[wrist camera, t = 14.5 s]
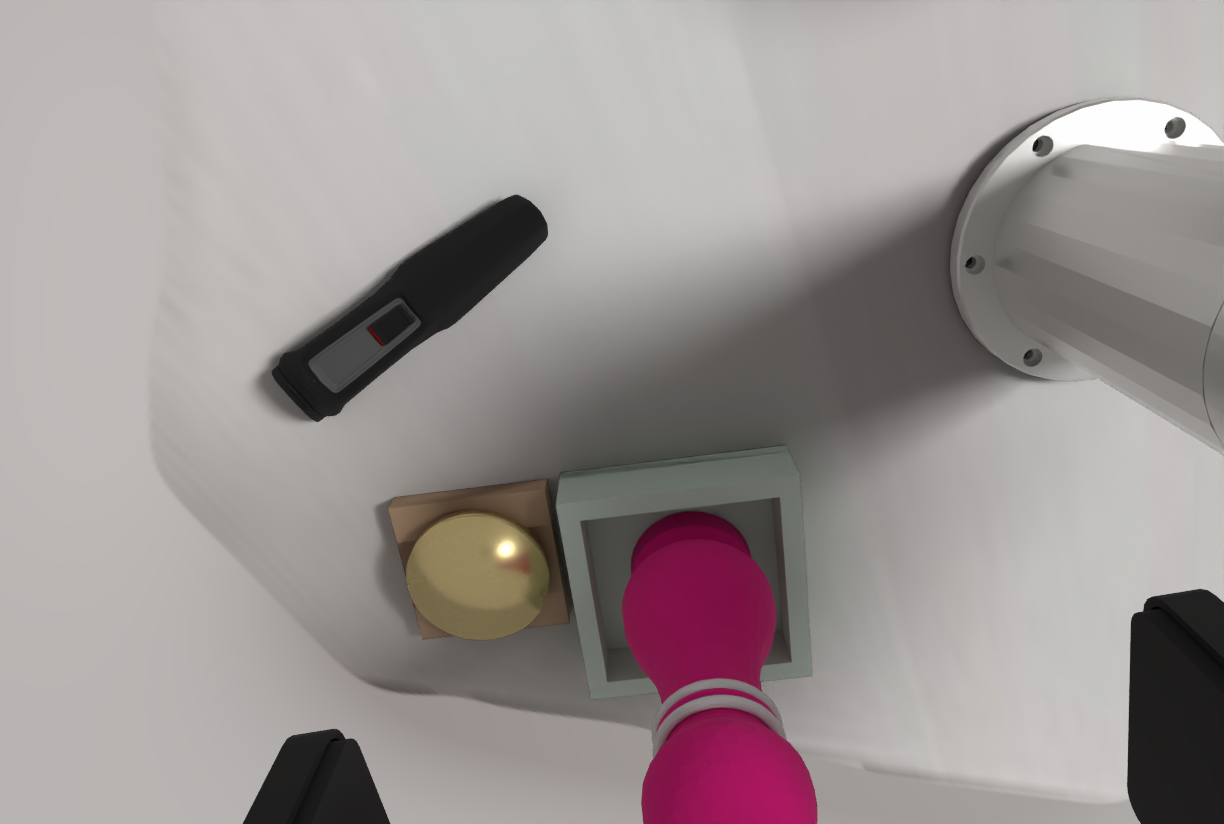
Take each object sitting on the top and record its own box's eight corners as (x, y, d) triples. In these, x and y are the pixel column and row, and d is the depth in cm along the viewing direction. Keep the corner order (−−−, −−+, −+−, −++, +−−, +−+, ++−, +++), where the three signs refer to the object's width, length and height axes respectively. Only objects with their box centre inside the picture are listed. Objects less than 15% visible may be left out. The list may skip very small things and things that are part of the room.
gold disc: (539, 492, 42) (535, 509, 41) (561, 611, 45) (559, 632, 43) (400, 509, 43) (391, 526, 41) (430, 626, 45) (423, 647, 44)
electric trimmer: (571, 238, 39) (568, 250, 36) (324, 421, 42) (302, 445, 39) (521, 170, 38) (513, 176, 35) (271, 363, 41) (245, 383, 38)
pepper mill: (602, 599, 45) (592, 967, 26) (649, 483, 42) (674, 798, 23) (728, 636, 45) (807, 1019, 27) (781, 525, 43) (909, 861, 24)
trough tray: (786, 445, 42) (800, 475, 39) (798, 634, 46) (812, 676, 43) (560, 472, 43) (555, 504, 40) (592, 657, 47) (590, 700, 44)
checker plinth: (546, 478, 43) (544, 489, 42) (570, 610, 46) (569, 623, 45) (394, 497, 43) (388, 508, 42) (427, 626, 46) (422, 639, 45)
